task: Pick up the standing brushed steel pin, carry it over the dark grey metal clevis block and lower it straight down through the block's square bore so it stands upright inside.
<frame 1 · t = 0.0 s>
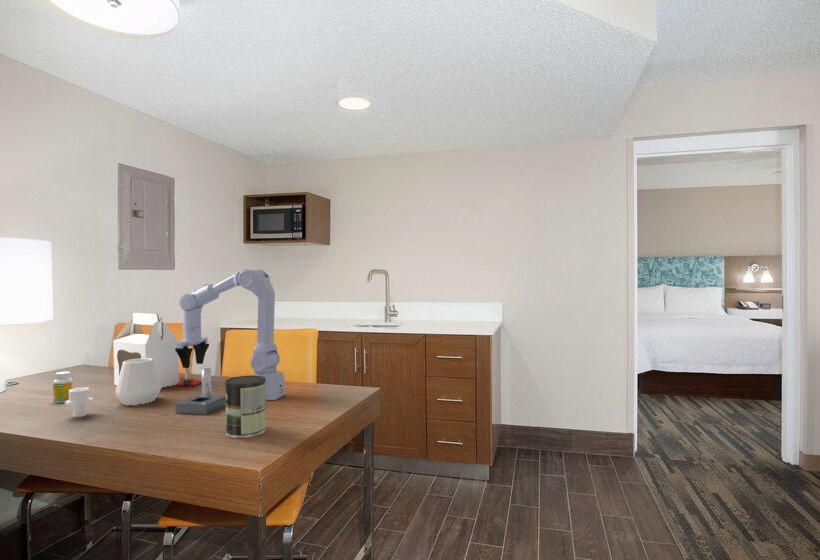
hand: (193, 365, 170), 10 cm above the table, tool pointing down, fingers open, 7 cm apart
gable box: (146, 385, 187), on the table
coffee can: (246, 432, 128), on the table
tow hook: (191, 384, 187), on the table
pipe fitting: (79, 416, 146), on the table
clevis block: (201, 409, 151), on the table
supplement bottle: (63, 401, 163), on the table
cup: (138, 402, 161), on the table
pin: (206, 397, 165), on the table
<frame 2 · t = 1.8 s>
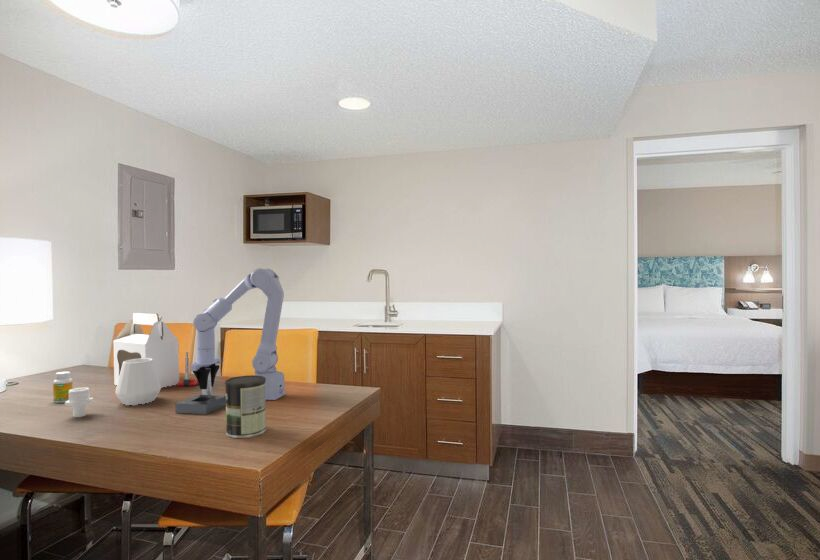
hand: (206, 387, 165), 3 cm above the table, tool pointing down, fingers closed on pin, 3 cm apart
pin: (206, 397, 165), on the table, touching gripper
everything else where it was.
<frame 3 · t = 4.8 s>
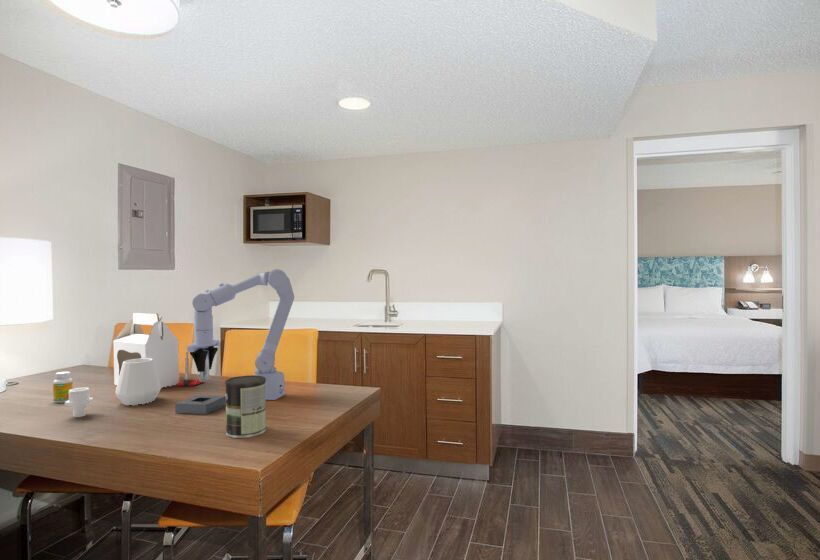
hand: (204, 370, 160), 10 cm above the table, tool pointing down, fingers closed on pin, 3 cm apart
pin: (204, 380, 160), point 7 cm above the table, touching gripper
everything else where it was.
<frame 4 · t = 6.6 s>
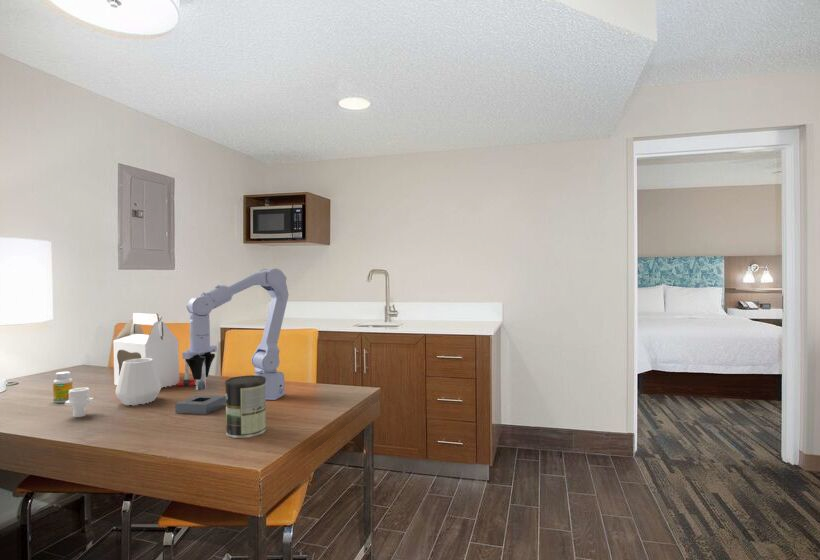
hand: (200, 378, 151), 10 cm above the table, tool pointing down, fingers closed on pin, 3 cm apart
pin: (200, 389, 151), point 6 cm above the table, touching gripper
everything else where it was.
when the fingers open (4 cm above the table, at t = 8.0 s): pin stays where it is, on the table.
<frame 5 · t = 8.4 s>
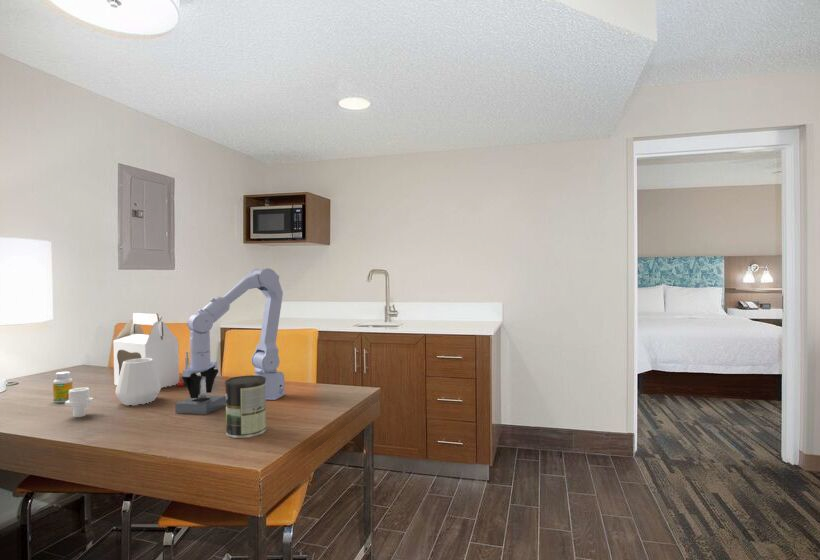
hand: (201, 395, 151), 4 cm above the table, tool pointing down, fingers open, 6 cm apart
pin: (201, 409, 151), on the table
everything else where it was.
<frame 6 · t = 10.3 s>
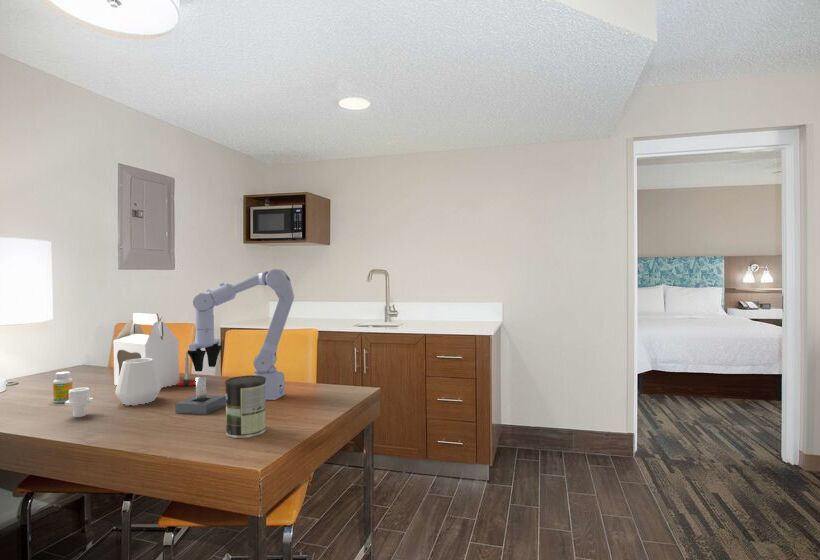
hand: (205, 368, 162), 10 cm above the table, tool pointing down, fingers open, 7 cm apart
nothing on the table moved.
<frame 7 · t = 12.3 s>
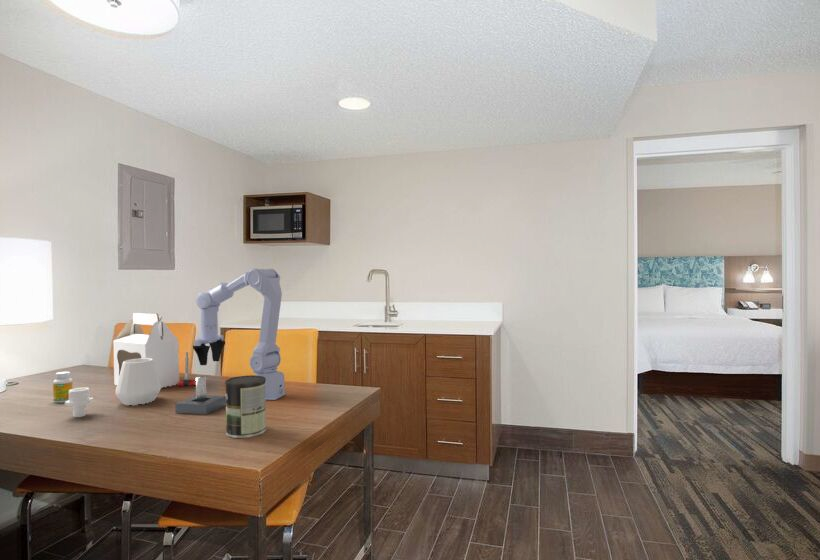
hand: (209, 363, 173), 10 cm above the table, tool pointing down, fingers open, 7 cm apart
nothing on the table moved.
at the end: pin 0.0 cm off-centre on the clevis block, point 0.0 cm above the clevis block's base; pin tilted 0°; the gripper is holding nothing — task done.
